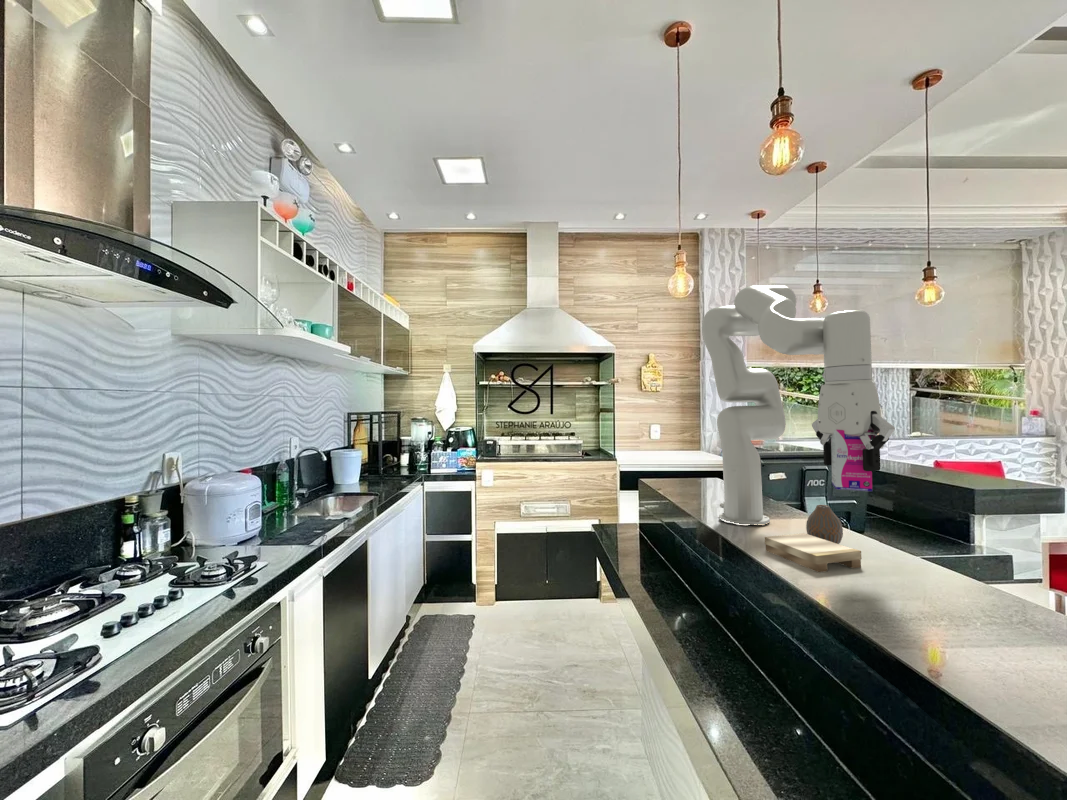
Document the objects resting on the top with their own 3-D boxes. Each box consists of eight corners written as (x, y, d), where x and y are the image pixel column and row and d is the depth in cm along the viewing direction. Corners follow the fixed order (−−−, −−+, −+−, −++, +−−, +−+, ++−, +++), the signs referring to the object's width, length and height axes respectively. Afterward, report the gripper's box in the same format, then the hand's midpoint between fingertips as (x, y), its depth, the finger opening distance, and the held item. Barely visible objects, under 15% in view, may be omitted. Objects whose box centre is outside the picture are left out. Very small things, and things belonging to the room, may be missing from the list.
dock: (765, 550, 99) (764, 536, 99) (804, 546, 101) (804, 532, 101) (817, 572, 85) (816, 555, 85) (862, 567, 87) (861, 550, 87)
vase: (800, 541, 105) (799, 503, 105) (831, 540, 105) (829, 502, 105) (818, 550, 98) (816, 509, 99) (851, 549, 98) (848, 508, 98)
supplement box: (835, 490, 86) (833, 429, 86) (831, 484, 91) (829, 427, 91) (873, 492, 83) (871, 429, 83) (867, 486, 89) (864, 427, 89)
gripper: (795, 379, 95) (798, 463, 95) (874, 373, 78) (878, 475, 78) (825, 378, 97) (828, 461, 97) (909, 372, 80) (913, 472, 80)
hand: (850, 467), depth 87 cm, fingers closed on supplement box, 8 cm apart
